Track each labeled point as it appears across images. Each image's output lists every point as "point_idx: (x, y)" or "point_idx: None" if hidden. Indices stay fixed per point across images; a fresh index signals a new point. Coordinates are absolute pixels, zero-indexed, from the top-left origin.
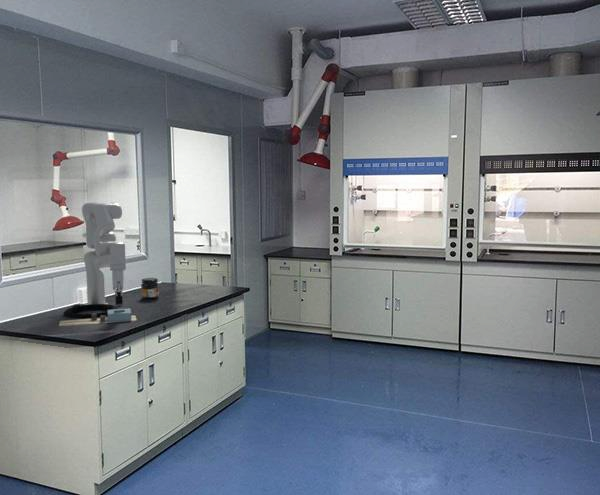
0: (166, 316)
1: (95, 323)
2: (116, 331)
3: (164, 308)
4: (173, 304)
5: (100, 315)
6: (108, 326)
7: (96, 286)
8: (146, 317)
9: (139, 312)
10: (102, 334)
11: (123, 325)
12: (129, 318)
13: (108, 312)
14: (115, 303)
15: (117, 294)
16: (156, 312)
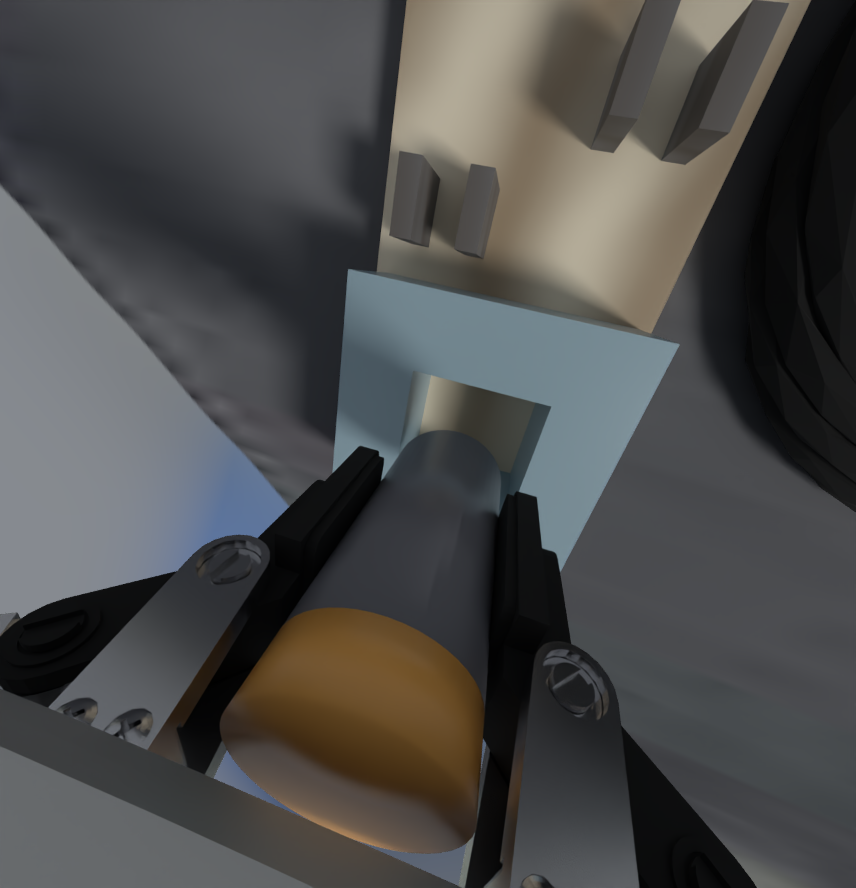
0: None
1: (404, 96)
2: (150, 283)
3: (692, 780)
4: (770, 856)
5: (773, 241)
6: (332, 259)
7: None
8: None
9: (715, 647)
10: (69, 135)
11: (319, 390)
12: None
13: (472, 307)
14: (434, 455)
15: (124, 584)
16: None
